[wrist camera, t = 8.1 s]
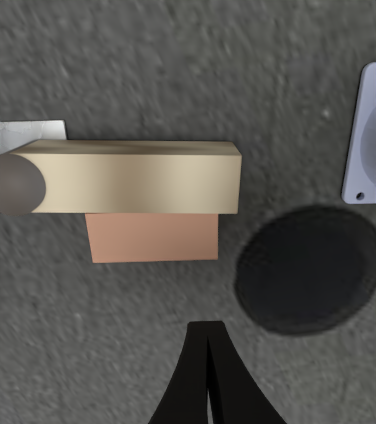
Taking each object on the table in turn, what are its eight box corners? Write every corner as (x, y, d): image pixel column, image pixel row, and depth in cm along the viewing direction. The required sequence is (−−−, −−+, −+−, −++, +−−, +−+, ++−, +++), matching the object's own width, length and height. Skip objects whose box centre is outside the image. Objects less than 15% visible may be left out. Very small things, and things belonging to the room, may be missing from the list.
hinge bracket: (64, 119, 18) (30, 132, 14) (78, 201, 20) (51, 232, 16) (-40, 123, 19) (-104, 136, 14) (-16, 204, 20) (-67, 236, 16)
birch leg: (22, 189, 20) (-15, 216, 16) (13, 139, 18) (-31, 155, 15) (228, 191, 20) (238, 217, 16) (232, 141, 19) (243, 158, 15)
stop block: (212, 188, 20) (218, 209, 17) (212, 231, 21) (217, 259, 18) (101, 191, 20) (84, 213, 17) (107, 234, 21) (93, 262, 18)
